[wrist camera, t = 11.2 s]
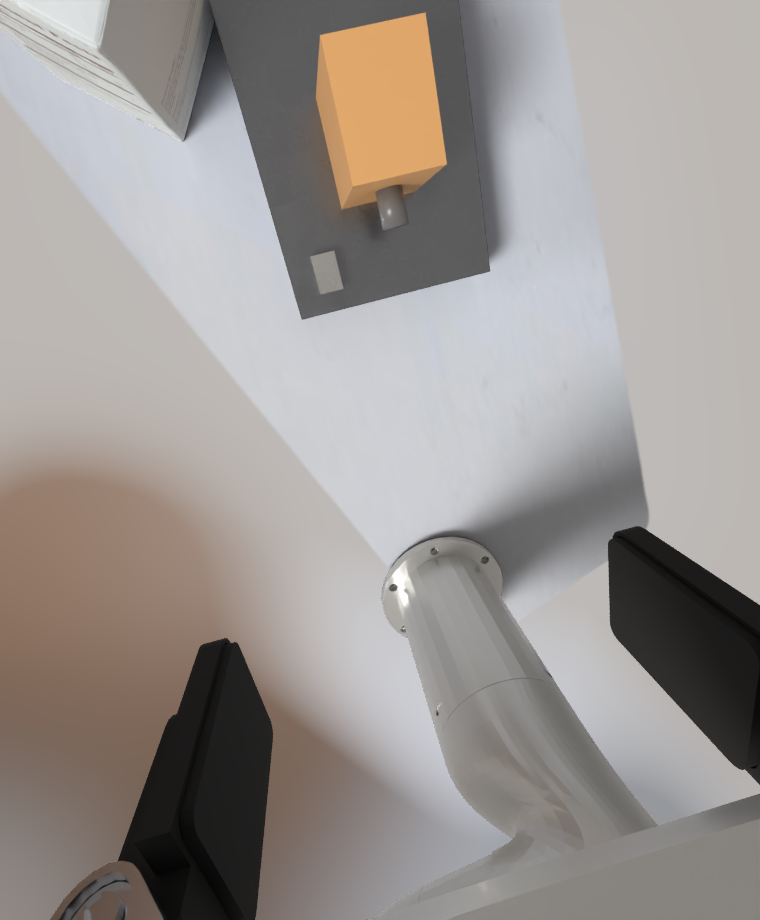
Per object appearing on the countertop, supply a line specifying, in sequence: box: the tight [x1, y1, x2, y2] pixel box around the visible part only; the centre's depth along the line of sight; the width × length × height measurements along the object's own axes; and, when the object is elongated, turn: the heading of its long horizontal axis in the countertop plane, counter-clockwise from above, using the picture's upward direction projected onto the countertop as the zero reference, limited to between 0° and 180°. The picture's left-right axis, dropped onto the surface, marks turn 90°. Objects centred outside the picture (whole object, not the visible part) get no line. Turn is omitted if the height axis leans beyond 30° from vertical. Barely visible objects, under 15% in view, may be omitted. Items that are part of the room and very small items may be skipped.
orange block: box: [316, 12, 447, 230], centre depth 25 cm, size 8×5×9 cm, turn 13°
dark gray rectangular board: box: [209, 0, 490, 320], centre depth 28 cm, size 18×14×4 cm
